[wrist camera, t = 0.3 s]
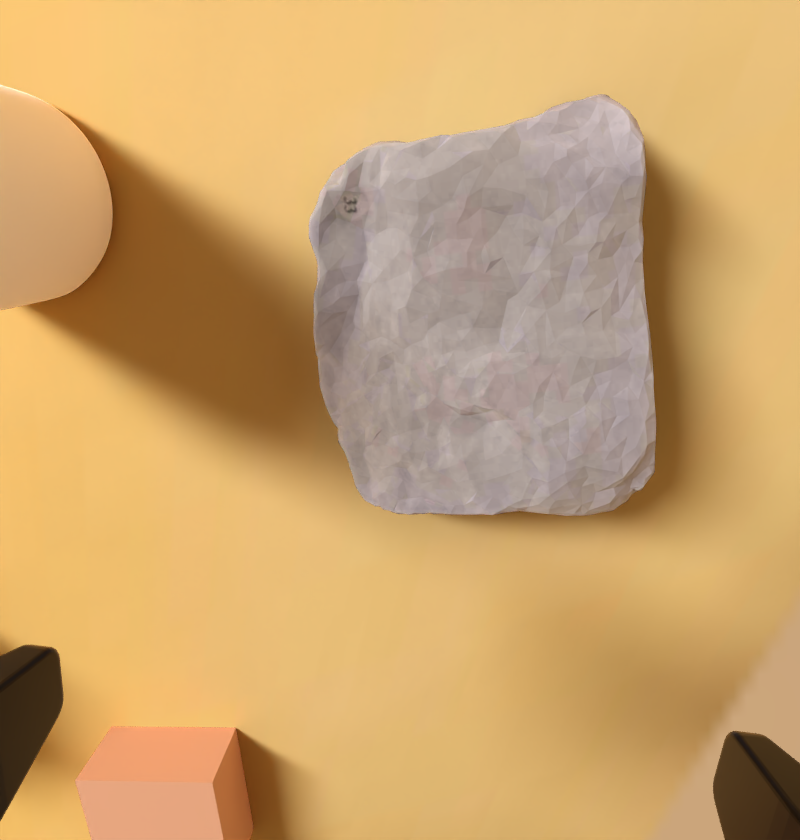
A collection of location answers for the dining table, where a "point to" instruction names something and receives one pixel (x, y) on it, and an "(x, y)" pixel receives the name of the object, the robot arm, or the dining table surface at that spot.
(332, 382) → the stone block
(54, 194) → the can
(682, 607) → the dining table surface
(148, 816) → the terracotta block
